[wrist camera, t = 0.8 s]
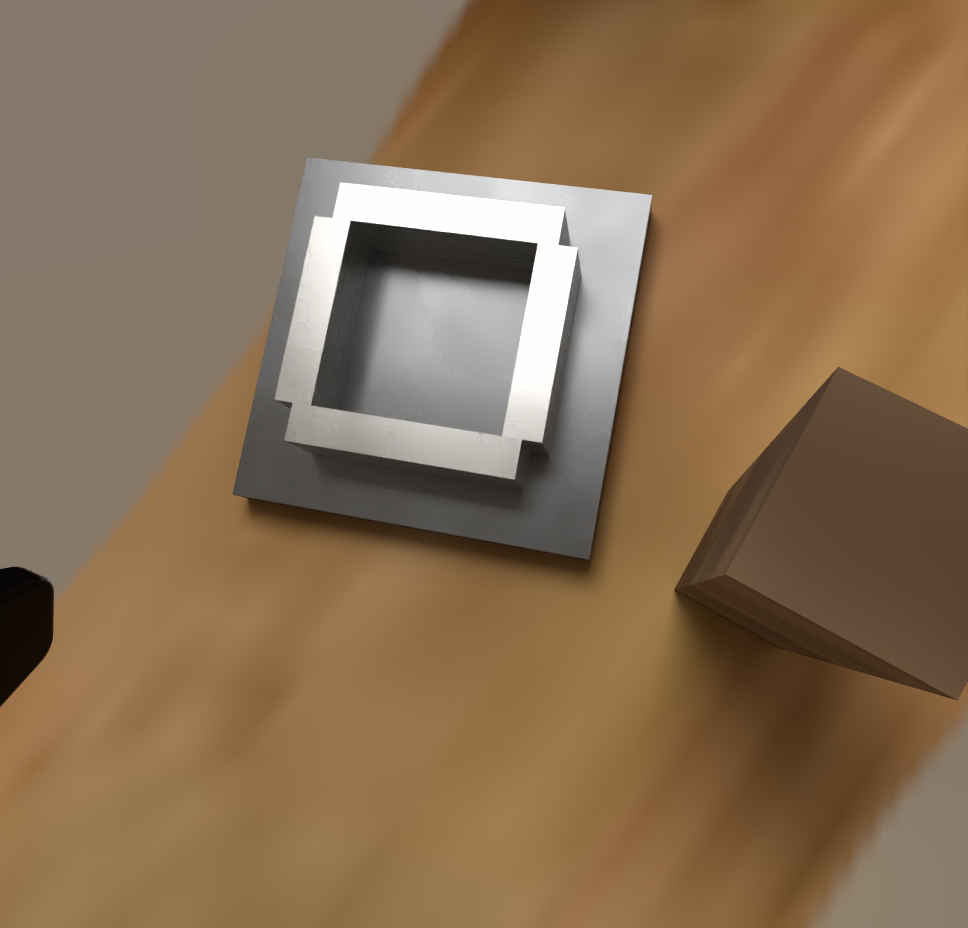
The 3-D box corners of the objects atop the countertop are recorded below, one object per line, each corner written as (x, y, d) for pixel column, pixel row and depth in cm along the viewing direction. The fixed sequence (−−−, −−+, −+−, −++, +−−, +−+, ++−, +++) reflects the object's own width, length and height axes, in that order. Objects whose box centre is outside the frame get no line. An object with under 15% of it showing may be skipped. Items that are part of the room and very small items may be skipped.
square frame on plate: (591, 560, 25) (585, 555, 22) (247, 498, 26) (199, 485, 23) (651, 210, 26) (654, 160, 23) (318, 173, 28) (281, 122, 25)
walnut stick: (779, 648, 23) (957, 700, 11) (674, 589, 24) (725, 574, 11) (834, 546, 24) (1073, 479, 11) (728, 491, 24) (838, 366, 12)
